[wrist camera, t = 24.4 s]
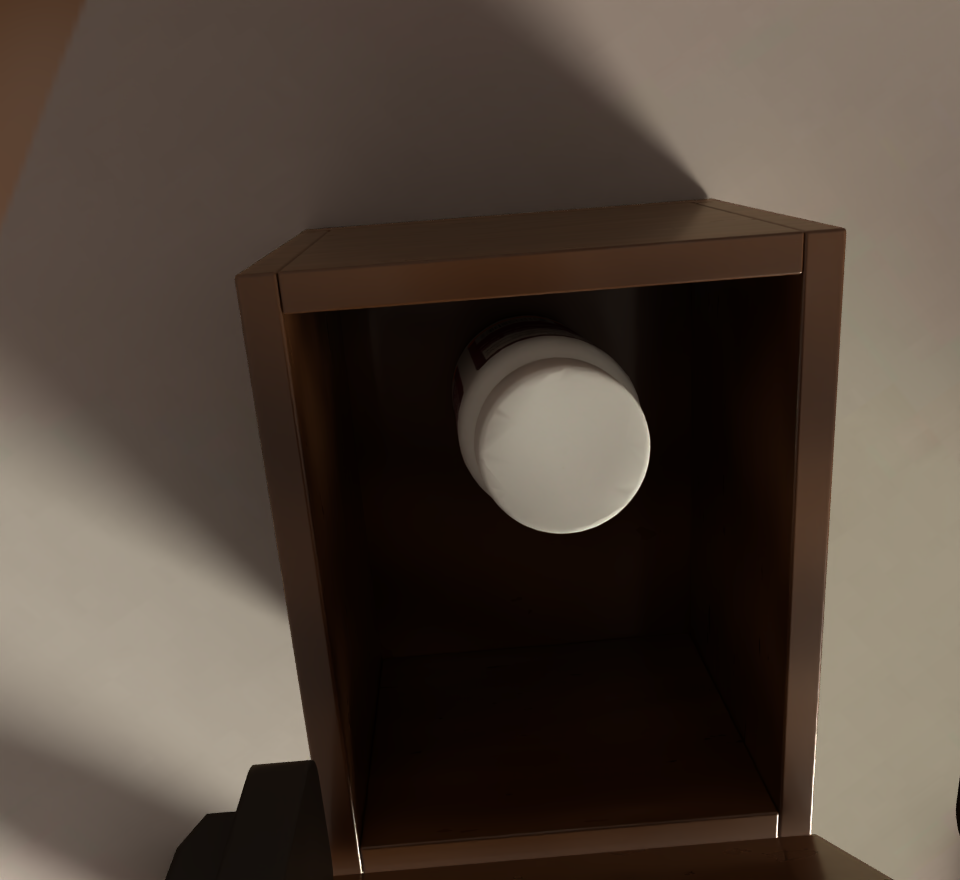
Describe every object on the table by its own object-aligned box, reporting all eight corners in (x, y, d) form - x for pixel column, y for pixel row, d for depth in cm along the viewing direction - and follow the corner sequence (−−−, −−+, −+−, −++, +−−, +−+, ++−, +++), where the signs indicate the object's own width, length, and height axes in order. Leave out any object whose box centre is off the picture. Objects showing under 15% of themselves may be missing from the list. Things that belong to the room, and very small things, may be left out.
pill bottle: (555, 483, 29) (605, 583, 21) (425, 419, 29) (425, 498, 20) (626, 355, 29) (706, 407, 20) (494, 285, 28) (522, 312, 20)
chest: (304, 229, 28) (233, 275, 18) (712, 198, 28) (848, 227, 19) (361, 668, 33) (329, 878, 24) (707, 639, 33) (812, 837, 24)
